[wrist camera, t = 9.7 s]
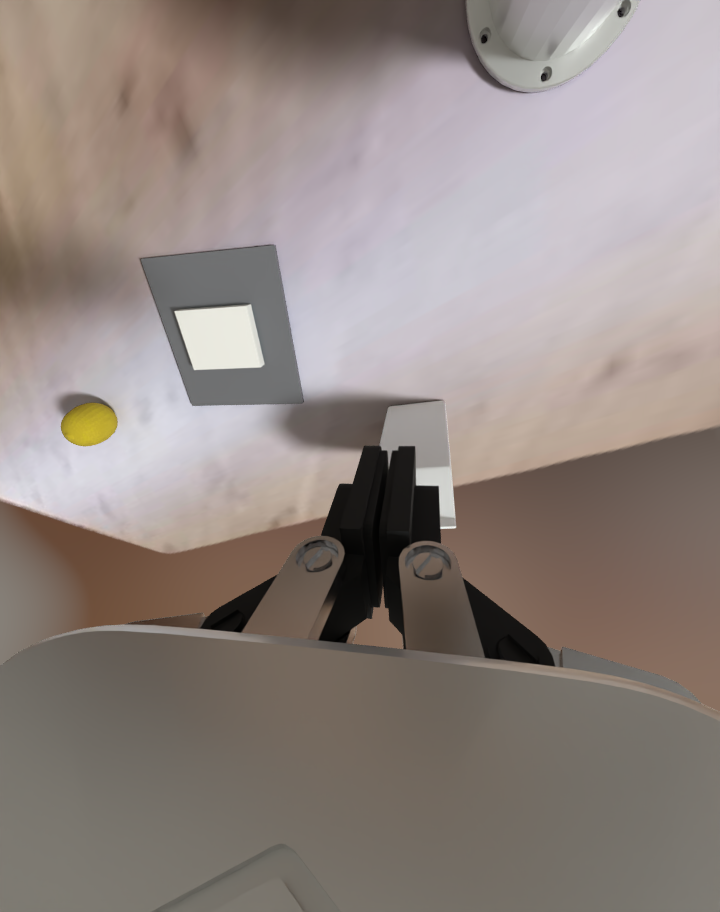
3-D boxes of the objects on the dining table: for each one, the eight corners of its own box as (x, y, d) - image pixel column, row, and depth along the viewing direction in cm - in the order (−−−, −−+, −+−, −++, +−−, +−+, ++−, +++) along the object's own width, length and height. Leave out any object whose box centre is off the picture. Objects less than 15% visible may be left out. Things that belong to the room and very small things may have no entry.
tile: (252, 303, 42) (182, 308, 44) (246, 305, 41) (174, 311, 42) (265, 363, 46) (200, 365, 47) (260, 367, 44) (193, 370, 46)
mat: (143, 258, 42) (140, 258, 41) (275, 244, 39) (273, 245, 39) (194, 403, 51) (192, 405, 51) (303, 401, 48) (302, 403, 48)
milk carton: (449, 448, 49) (458, 557, 33) (395, 453, 50) (380, 558, 34) (445, 399, 45) (453, 493, 29) (388, 405, 47) (366, 498, 31)
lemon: (106, 387, 52) (58, 411, 46) (136, 417, 54) (95, 444, 48) (86, 405, 55) (38, 431, 48) (116, 434, 57) (74, 462, 50)
